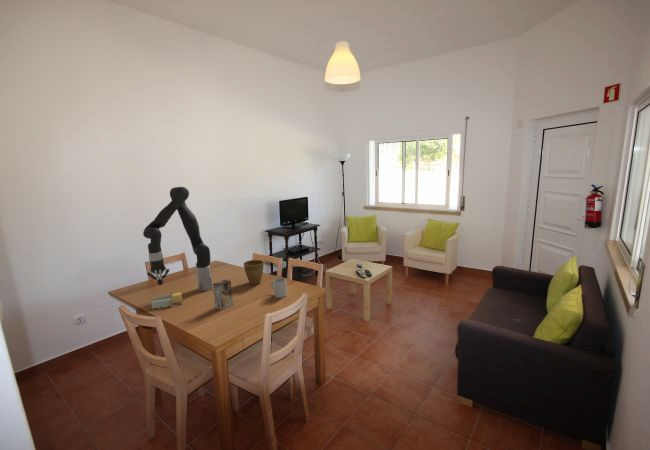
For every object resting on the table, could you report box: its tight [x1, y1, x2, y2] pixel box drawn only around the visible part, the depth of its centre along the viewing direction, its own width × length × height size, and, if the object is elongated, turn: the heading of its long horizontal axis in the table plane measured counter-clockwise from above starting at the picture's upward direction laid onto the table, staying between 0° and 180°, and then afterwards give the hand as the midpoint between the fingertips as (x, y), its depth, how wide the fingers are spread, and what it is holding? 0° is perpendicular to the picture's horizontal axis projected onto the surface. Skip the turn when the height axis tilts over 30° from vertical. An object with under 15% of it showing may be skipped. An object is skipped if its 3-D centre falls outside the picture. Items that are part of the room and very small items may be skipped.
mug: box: [271, 277, 288, 299], centre depth 214 cm, size 12×8×11 cm
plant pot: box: [243, 259, 265, 286], centre depth 236 cm, size 15×15×16 cm
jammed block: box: [172, 291, 183, 303], centre depth 206 cm, size 5×5×5 cm
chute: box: [150, 291, 183, 310], centre depth 204 cm, size 17×13×5 cm
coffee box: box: [212, 279, 234, 311], centre depth 197 cm, size 9×6×16 cm
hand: (160, 284), depth 200 cm, fingers closed
